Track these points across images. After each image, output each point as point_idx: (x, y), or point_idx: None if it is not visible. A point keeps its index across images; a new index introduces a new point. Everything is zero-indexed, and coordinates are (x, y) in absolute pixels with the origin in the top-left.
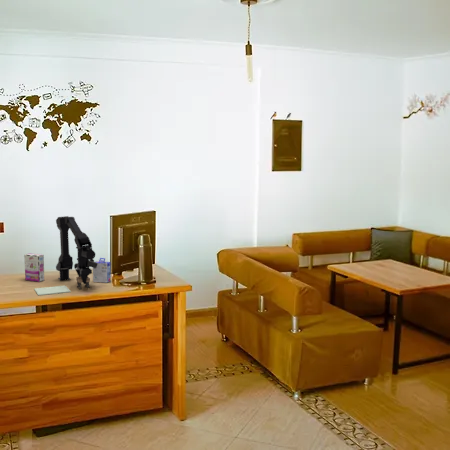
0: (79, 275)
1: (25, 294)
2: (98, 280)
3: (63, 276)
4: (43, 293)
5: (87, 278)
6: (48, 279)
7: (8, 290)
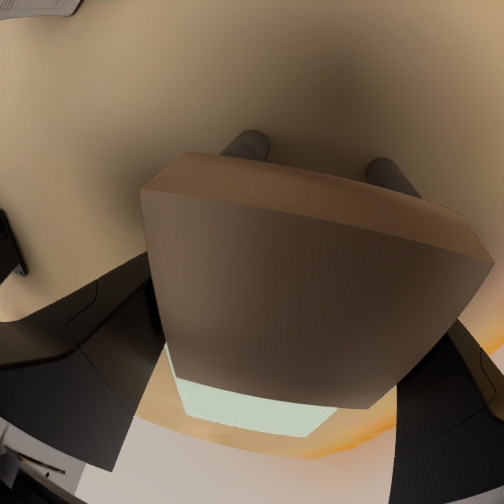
0: (149, 366)
1: (253, 437)
2: None
3: (4, 279)
4: (301, 430)
5: (444, 309)
6: (15, 296)
7: (172, 427)
